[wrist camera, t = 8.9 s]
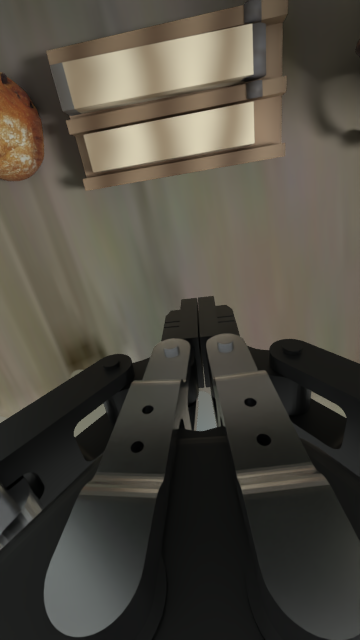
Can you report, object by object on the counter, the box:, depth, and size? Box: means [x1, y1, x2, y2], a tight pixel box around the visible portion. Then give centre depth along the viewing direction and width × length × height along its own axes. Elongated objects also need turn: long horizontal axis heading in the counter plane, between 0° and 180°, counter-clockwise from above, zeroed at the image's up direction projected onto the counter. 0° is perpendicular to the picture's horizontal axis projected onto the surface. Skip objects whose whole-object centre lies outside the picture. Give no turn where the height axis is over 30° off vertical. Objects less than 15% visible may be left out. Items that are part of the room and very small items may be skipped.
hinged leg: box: [49, 22, 266, 116], centre depth 26 cm, size 20×3×2 cm, turn 99°
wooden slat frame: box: [46, 0, 288, 191], centre depth 29 cm, size 22×12×5 cm, turn 99°
